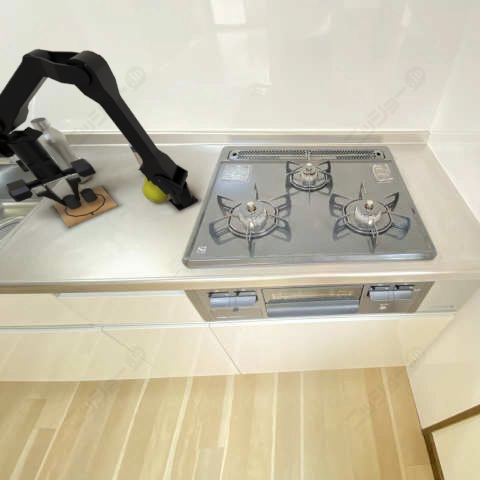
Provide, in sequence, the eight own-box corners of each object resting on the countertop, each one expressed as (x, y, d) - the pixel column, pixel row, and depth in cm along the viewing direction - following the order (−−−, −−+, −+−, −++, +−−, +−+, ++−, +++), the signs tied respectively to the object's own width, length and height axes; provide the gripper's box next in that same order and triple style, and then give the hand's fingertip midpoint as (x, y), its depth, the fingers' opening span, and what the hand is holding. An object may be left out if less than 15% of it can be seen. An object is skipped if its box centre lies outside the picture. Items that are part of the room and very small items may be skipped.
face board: (117, 206, 84) (116, 204, 83) (69, 227, 77) (67, 226, 77) (101, 187, 90) (100, 185, 89) (55, 206, 83) (53, 204, 83)
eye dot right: (99, 199, 85) (93, 191, 83) (87, 203, 83) (81, 196, 81) (95, 194, 87) (89, 186, 84) (84, 199, 85) (78, 191, 83)
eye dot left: (82, 205, 83) (76, 197, 80) (70, 210, 81) (63, 202, 79) (79, 200, 84) (72, 192, 82) (67, 205, 83) (60, 197, 80)
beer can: (155, 176, 94) (139, 144, 86) (141, 176, 94) (124, 143, 86) (161, 168, 98) (146, 136, 89) (147, 168, 98) (131, 136, 89)
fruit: (166, 190, 90) (150, 157, 81) (177, 199, 87) (161, 166, 78) (145, 200, 86) (126, 166, 77) (155, 210, 83) (136, 176, 74)
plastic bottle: (96, 179, 93) (56, 119, 78) (74, 188, 89) (27, 128, 74) (89, 171, 96) (48, 113, 81) (67, 180, 92) (20, 120, 77)
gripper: (65, 132, 79) (97, 178, 90) (-20, 157, 69) (27, 204, 81) (79, 146, 74) (110, 193, 85) (-12, 175, 64) (37, 223, 76)
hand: (72, 202), depth 82 cm, fingers closed on eye dot left, 3 cm apart
